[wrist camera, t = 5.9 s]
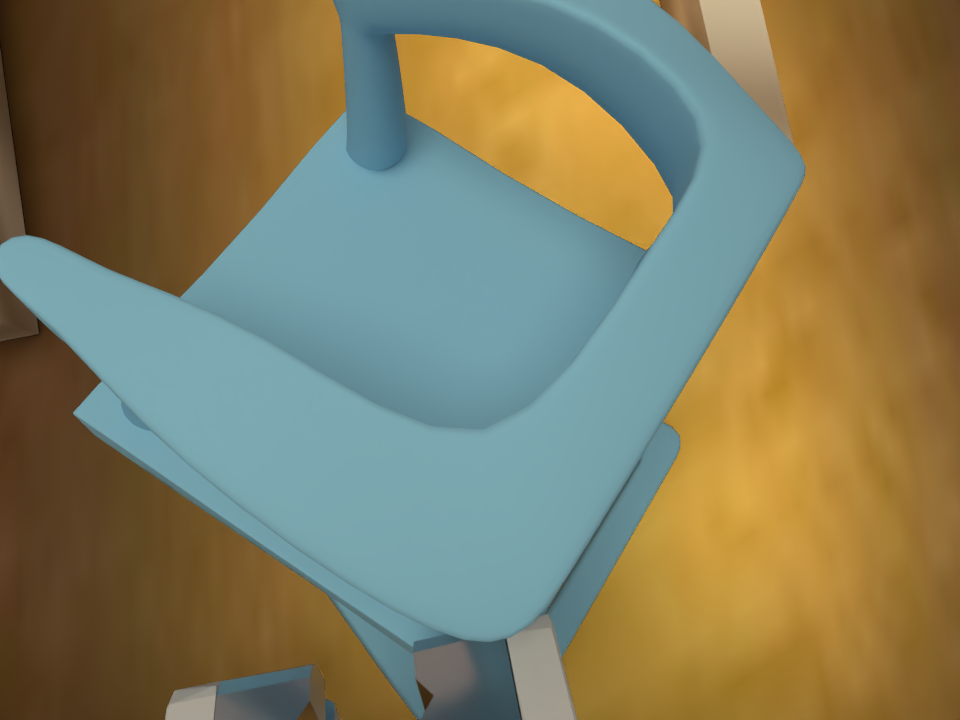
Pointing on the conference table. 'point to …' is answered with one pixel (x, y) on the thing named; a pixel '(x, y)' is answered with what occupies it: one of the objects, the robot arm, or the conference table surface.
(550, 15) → the chair
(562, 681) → the robot arm
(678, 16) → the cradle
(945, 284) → the conference table surface
